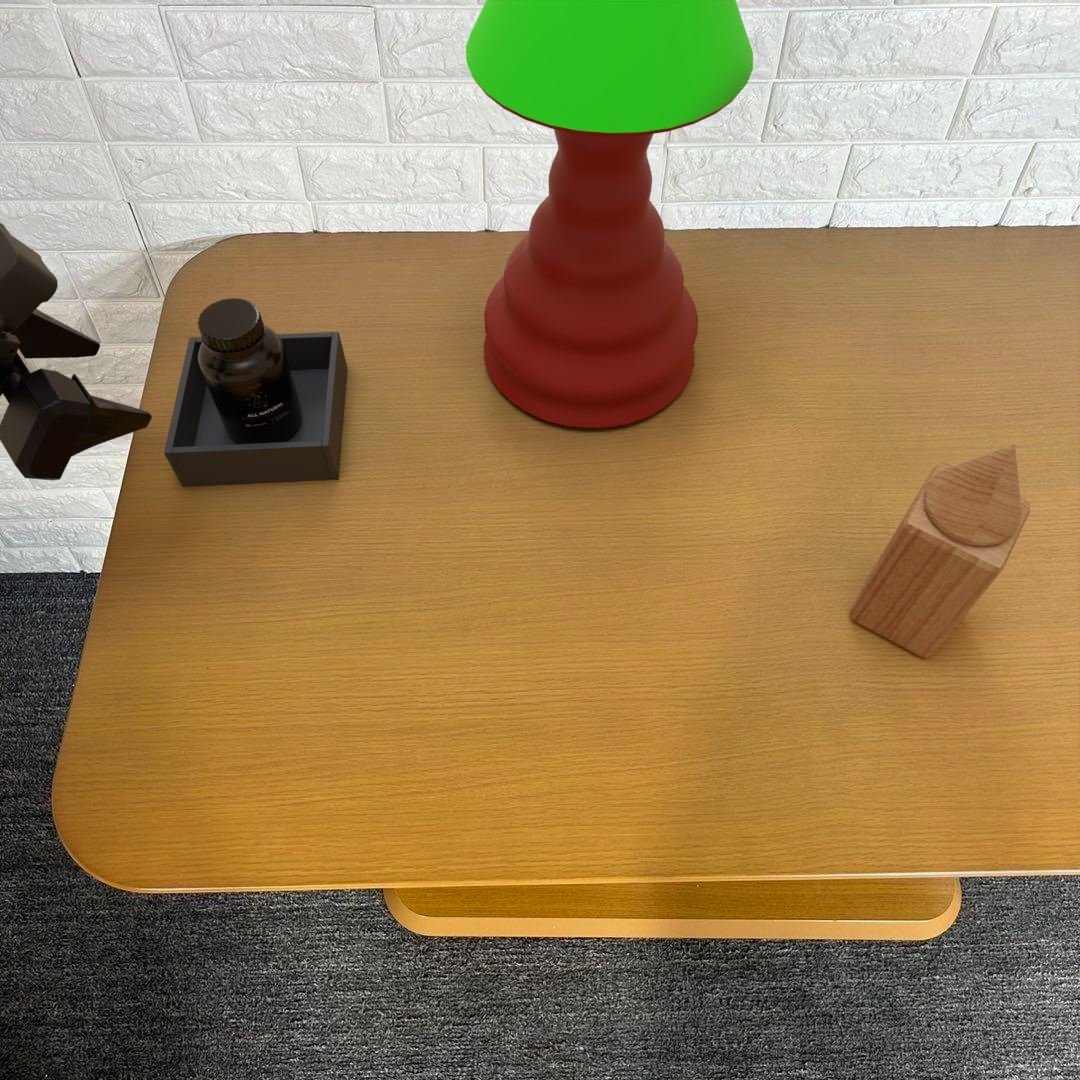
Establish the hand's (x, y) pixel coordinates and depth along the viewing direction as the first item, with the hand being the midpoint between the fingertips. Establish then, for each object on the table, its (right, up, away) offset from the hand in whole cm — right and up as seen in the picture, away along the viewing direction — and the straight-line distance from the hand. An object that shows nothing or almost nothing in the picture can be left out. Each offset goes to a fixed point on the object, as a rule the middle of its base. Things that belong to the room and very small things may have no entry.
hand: (122, 383), depth 67 cm
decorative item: (+59, -17, +3) cm, 62 cm away
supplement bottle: (+7, -1, +12) cm, 14 cm away
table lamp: (+36, +6, +18) cm, 41 cm away
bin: (+7, -1, +13) cm, 15 cm away
